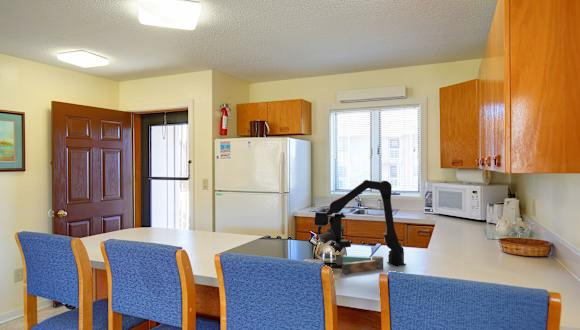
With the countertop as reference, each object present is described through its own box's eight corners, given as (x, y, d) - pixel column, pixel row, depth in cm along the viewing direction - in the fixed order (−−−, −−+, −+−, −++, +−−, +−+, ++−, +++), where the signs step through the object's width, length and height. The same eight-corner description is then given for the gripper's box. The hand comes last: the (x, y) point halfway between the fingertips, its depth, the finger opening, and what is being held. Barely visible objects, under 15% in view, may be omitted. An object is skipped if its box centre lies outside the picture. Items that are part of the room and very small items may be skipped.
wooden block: (379, 266, 176) (379, 255, 176) (386, 269, 170) (386, 258, 170) (338, 271, 168) (338, 260, 168) (345, 274, 162) (344, 263, 162)
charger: (300, 279, 157) (303, 269, 172) (322, 280, 156) (324, 270, 171) (299, 268, 157) (303, 258, 172) (322, 268, 156) (324, 259, 171)
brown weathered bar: (371, 265, 176) (371, 256, 176) (371, 266, 174) (370, 258, 173) (336, 263, 180) (336, 254, 180) (336, 264, 177) (336, 256, 177)
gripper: (312, 224, 190) (312, 255, 190) (330, 230, 172) (330, 265, 172) (332, 223, 194) (332, 253, 194) (351, 229, 176) (351, 262, 177)
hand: (336, 258), depth 184 cm, fingers closed
